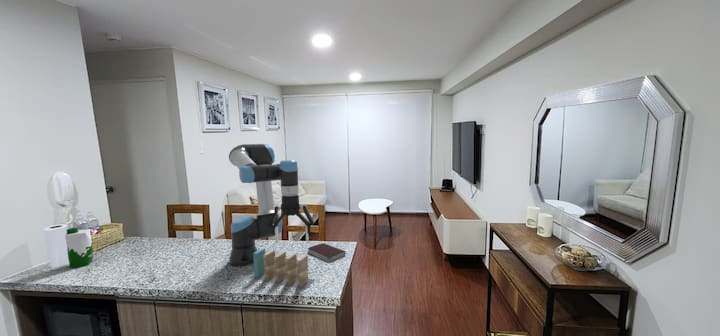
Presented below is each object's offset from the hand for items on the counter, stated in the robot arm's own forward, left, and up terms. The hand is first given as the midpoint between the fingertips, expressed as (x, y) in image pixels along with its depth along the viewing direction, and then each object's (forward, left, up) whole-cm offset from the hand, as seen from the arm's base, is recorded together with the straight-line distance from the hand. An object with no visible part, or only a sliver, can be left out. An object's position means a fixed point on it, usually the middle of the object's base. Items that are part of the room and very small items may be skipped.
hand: (292, 241), depth 126 cm
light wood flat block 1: (-14, +1, -20) cm, 24 cm away
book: (-1, +35, -21) cm, 41 cm away
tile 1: (+4, +1, -20) cm, 20 cm away
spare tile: (-20, +1, -20) cm, 28 cm away
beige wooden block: (-8, +1, -20) cm, 21 cm away
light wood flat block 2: (-2, +1, -20) cm, 20 cm away
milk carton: (-120, -21, -20) cm, 123 cm away
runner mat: (-7, +1, -20) cm, 21 cm away
